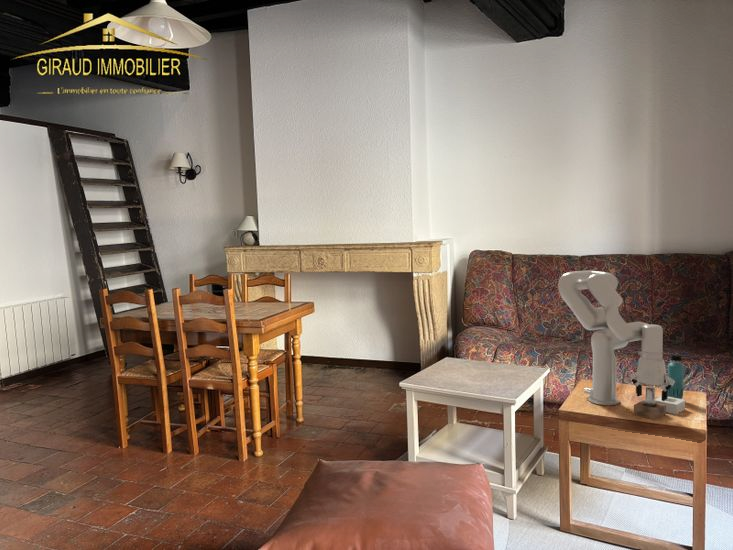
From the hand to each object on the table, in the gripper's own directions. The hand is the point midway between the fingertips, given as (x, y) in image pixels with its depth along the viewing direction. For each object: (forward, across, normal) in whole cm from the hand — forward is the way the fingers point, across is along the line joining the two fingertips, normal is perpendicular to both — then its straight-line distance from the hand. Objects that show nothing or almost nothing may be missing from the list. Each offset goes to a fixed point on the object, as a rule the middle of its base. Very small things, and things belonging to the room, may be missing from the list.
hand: (651, 398), depth 244 cm
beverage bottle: (+7, -1, +26) cm, 27 cm away
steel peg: (+7, -1, 0) cm, 7 cm away
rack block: (+7, +2, +12) cm, 14 cm away
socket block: (+7, -1, 0) cm, 7 cm away
